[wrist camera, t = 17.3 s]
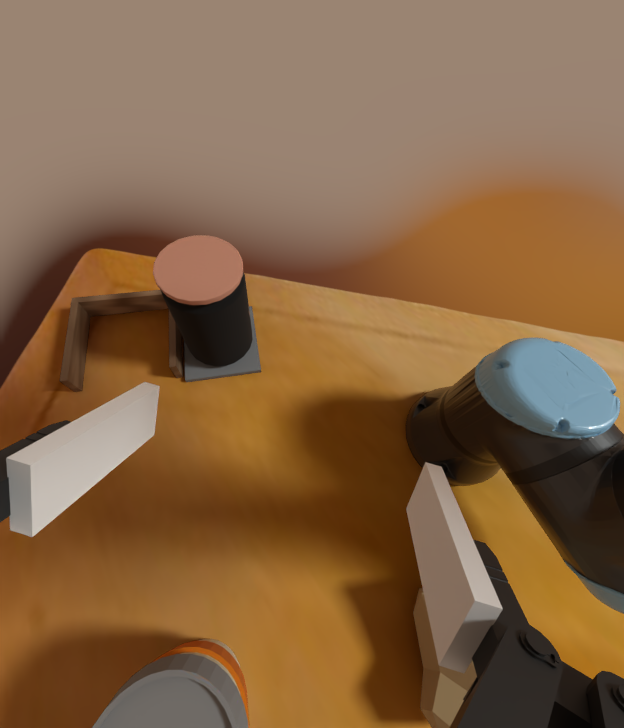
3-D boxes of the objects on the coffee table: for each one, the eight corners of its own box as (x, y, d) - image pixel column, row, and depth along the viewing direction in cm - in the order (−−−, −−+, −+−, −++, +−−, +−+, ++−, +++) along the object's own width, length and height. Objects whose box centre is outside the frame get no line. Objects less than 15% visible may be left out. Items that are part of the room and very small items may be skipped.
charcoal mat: (252, 308, 60) (251, 306, 60) (261, 372, 55) (260, 369, 54) (184, 316, 58) (183, 313, 58) (186, 382, 53) (185, 380, 52)
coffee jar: (266, 338, 57) (261, 263, 41) (222, 382, 53) (197, 317, 37) (221, 305, 59) (199, 222, 43) (175, 344, 55) (132, 268, 39)
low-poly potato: (426, 549, 45) (371, 589, 38) (510, 567, 37) (459, 622, 30) (455, 670, 43) (401, 737, 36) (551, 718, 35) (506, 818, 27)
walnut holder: (180, 302, 60) (174, 288, 56) (183, 377, 53) (176, 366, 50) (84, 312, 57) (71, 298, 53) (74, 391, 51) (59, 381, 47)
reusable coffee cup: (129, 660, 37) (45, 732, 24) (233, 597, 41) (211, 629, 27) (161, 804, 33) (80, 991, 19) (276, 718, 36) (274, 828, 23)
